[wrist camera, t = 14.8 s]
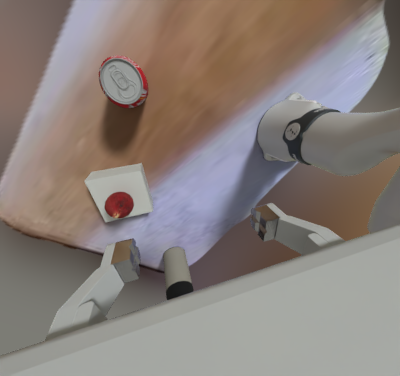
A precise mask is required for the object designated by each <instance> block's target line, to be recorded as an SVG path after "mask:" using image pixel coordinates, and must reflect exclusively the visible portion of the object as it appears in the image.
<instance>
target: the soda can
mask: <svg viewBox="0 0 400 376" xmlns="http://www.w3.org/2000/svg"><path fill="white" fill-rule="evenodd" d="M99 82H100V86H101V88H102V90H103V92H104V94H105V95H106V96H107V97H108V99H109V100H110V101H112V102H113V103H114V104H116V105H118V106H120V107H124V108H134V107H137V106H139V105H141V104H142V103H143V102H144V101H145V100H146V98H147V95H148V83H147V80H146V77H145V75H144V73H143V71H142V70H141V68H140V67H139V66H138V65H137V64H136V63H135V62H134V61H132V60H131V59H129V58H127V57H124V56H112V57H109V58H107V59H106V60H105V61H104V62H103V63H102V65H101V67H100V70H99Z"/></svg>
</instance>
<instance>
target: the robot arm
mask: <svg viewBox="0 0 400 376" xmlns="http://www.w3.org/2000/svg"><path fill="white" fill-rule="evenodd" d="M321 105H322V104H321V103H317V102H316V101H311V100H306V99H305V98H304V97H302V96H301V95H300V94H299V93H295V92H294V93H292V94H290V95H289V96H288V97H287V98H286V99H285V100H284V101H282V102H279V103H277V104H275V105H274V106H272V107H271V108H270V109H269V110H268V111H267V112H266V113H265V115H264V116H263V118H262V120H261V122H260V125H259V128H258V142H259V145H260V147H261V148H262V150H263V153H264V159H265V160H267V161H278V160H281V161H284V162H288V161H298V162H300V163H304V164H307V165H314V166H316V167H319V168H321V169H323V170H326V171H328V172H331V173H333V174H336V175H340V176H351V175H356V174H360V173H362V172H365V171H367V170H369V169H371V168H373V167H374V166H376V165H378V164H379V163H380V162H382V161H384V160H385V159H387V158H389V157H391V156H393V155H395V154H398V153H400V108H397V109H393V110H389V111H384V112H376V113H342V112H340V111H338V110H333V109H329V108H327V107H325V106H321ZM251 214H252V216H251V219H250V222H251V225H252V227H253V228H254V230H255V231H258V235H259V236H260V238H261V239H262V240H263V241H268V240H272V239H275V240H277V241H279V242H281V243H282V244H284V245H286V246H288V247H290V248H291V249H293V250H295V251H297V252H299V253H300V254H302V256H300V257H297V258H294V259H291V260H288V261H285V262H282V263H279V264H276V265H273V266H270V267H267V268H264V269H261V270H258V271H255V272H252V273H249V274H246V275H243V276H240V277H237V278H234V279H231V280H228V281H225V282H222V283H219V284H216V285H213V286H210V287H207V288H204V289H201V290H197V291H194V292H191V293H188V294H185V295H182V296H179V297H176V298H173V299H170V300H167V301H164V302H161V303H158V304H155V305H152V306H149V307H146V308H143V309H140V310H137V311H134V312H131V313H128V314H125V315H122V316H119V317H116V318H113V319H110V320H107V318H106V317H105V316H106V315H107V313H108V311H109V309H110V308H111V306H112V304H113V303H114V301H115V299H116V298H117V296H118V294H119V293H120V291H121V289H122V288H123V286H124V283H127V282H131V281H134V280H136V279H139V272H140V268H139V266H138V265H139V263H140V252H139V249H138V247H136V242H135V240H134V239H129V240H124V241H120V242H116V243H112V244H108V245H107V246H106V249H105V252H104V256H103V259H102V262H101V266H100V268H97V269H96V270H95V271H94V272H93V274H92V275H91V276H90V277H89V278H88V279H87V280H86V281H85V282H84V283H83V284H82V285H81V286H80V287H79V289H78V290H77V291H76V292H75V293H74V294H73V295H72V296H71V297H70V298H69V299H68V300H67V302H65V304H64V305H63V306H62V307H61V308H60V309H59V310H58V312H57V314H56V316H55V319H54V321H53V323H52V325H51V328H50V330H49V332H48V335H47V337H46V339H45V341H43V342H40V343H37V344H34V345H31V346H28V347H25V348H22V349H19V350H16V351H13V352H10V353H7V354H4V355H1V356H0V376H400V167H399V168H398V170H397V171H396V173H395V174H394V176H393V177H392V178H391V180H390V181H389V183H388V185H387V186H386V187H385V189H384V190H383V191H382V193H381V194H380V196H379V197H378V199H377V200H376V202H375V205H374V208H373V210H372V213H371V217H370V219H369V223H368V230H369V232H370V234H367V235H364V236H361V237H358V238H355V239H352V240H349V241H344V240H343V239H341V238H340V237H339V236H338V235H336V234H335V233H333V232H332V231H330V230H329V229H328V228H325V227H322V226H319V225H316V224H313V223H310V222H307V221H304V220H301V219H298V218H295V217H292V216H287V215H285V214H284V213H283V212H282V211H281V210H280V209H279V208H277V207H276V206H275V205H274V204H272V203H270V204H266V205H262V206H259V207H255V208H252V209H251Z"/></svg>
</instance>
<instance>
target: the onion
mask: <svg viewBox="0 0 400 376" xmlns="http://www.w3.org/2000/svg"><path fill="white" fill-rule="evenodd" d="M133 207H134V202H133V198H132V197H131V196H130V195H129V194H127V193H126V192H116V193H113V194H111V195H110V196H109V197H108V198H107V200H106V201H105V207H104V208H105V210H106V212H107V214H108V215H109V216H111V217H113V218H124V217H126V216H128V215H129V214H130V213H131V212H132V210H133Z"/></svg>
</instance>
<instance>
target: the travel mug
mask: <svg viewBox="0 0 400 376" xmlns="http://www.w3.org/2000/svg"><path fill="white" fill-rule="evenodd" d="M163 258H164V270H165V283H166V295H167V300H170V299H173V298H176V297H179V296H182V295H185V294H188V293H191V292H193V286H192V282H191V278H190V273H189V268H188V264H187V259H186V255H185V251H184V249H182V248H180V247H173V248H170V249H168V250H167V251H166V252H165V253H164V256H163Z"/></svg>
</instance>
